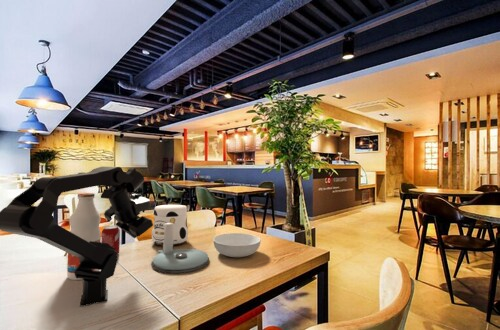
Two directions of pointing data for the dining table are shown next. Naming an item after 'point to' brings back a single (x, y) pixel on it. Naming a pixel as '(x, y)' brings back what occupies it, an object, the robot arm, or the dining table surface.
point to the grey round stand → (167, 255)
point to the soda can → (111, 236)
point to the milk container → (170, 215)
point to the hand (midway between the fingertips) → (135, 237)
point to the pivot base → (179, 255)
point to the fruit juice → (83, 228)
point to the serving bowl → (236, 244)
